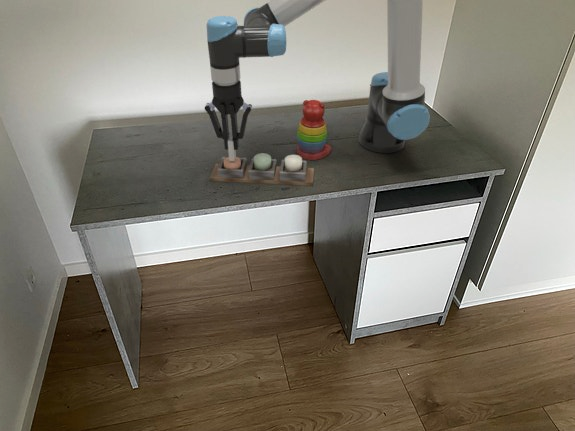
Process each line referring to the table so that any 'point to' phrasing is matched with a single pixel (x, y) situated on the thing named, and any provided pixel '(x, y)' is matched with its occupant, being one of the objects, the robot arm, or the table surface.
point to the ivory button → (293, 163)
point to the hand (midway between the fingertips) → (232, 158)
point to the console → (263, 174)
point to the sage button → (262, 162)
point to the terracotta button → (232, 163)
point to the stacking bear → (312, 132)
